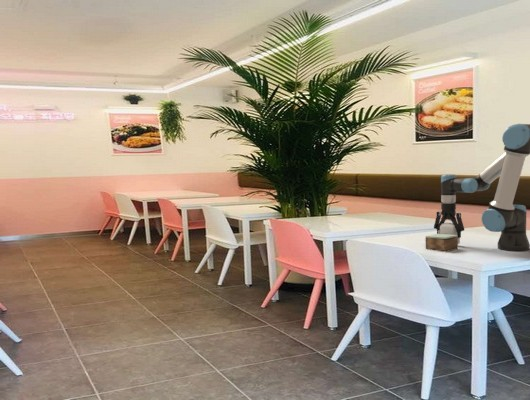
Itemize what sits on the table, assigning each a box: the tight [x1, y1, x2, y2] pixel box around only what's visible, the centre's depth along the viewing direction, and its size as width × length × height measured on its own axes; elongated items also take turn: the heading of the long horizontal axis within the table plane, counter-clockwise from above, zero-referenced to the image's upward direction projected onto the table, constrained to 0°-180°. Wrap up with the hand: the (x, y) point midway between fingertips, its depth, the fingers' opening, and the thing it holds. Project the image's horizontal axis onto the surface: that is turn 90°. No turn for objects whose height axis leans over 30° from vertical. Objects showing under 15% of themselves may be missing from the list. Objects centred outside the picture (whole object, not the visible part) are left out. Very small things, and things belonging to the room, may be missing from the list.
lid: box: [425, 233, 458, 239], centre depth 269 cm, size 12×11×1 cm
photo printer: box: [440, 222, 457, 235], centre depth 279 cm, size 10×4×12 cm, turn 29°
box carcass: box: [425, 237, 459, 252], centre depth 269 cm, size 12×11×6 cm
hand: (448, 242), depth 280 cm, fingers closed on photo printer, 10 cm apart
